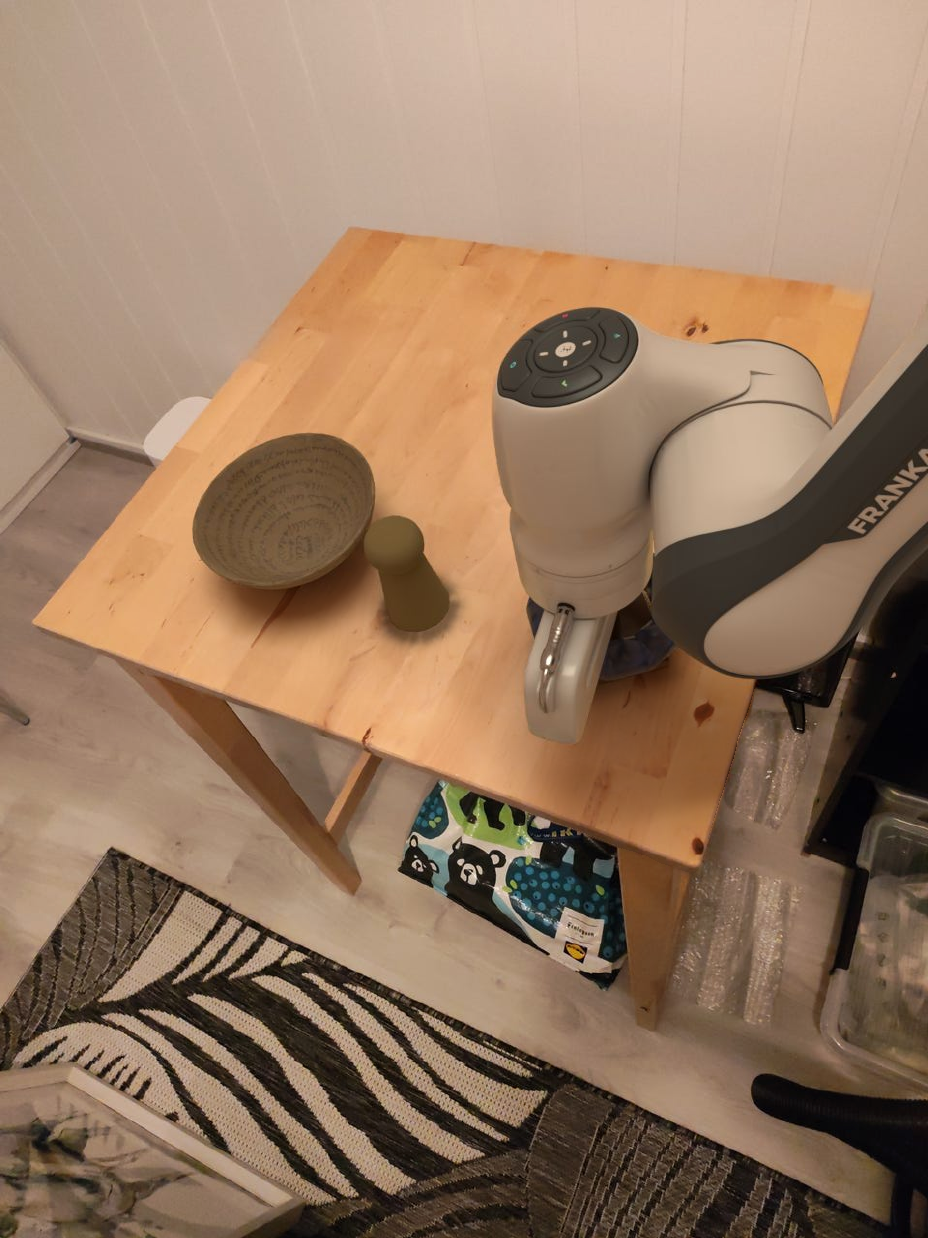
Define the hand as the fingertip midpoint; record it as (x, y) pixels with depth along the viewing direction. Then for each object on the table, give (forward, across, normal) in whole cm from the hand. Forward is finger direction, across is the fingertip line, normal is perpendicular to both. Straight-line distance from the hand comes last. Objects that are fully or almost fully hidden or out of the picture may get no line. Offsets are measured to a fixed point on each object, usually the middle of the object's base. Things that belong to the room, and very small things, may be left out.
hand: (592, 656), depth 63 cm
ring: (0, +5, 0) cm, 5 cm away
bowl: (+6, +9, +32) cm, 34 cm away
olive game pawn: (+6, +5, +18) cm, 20 cm away
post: (+6, +5, 0) cm, 8 cm away
